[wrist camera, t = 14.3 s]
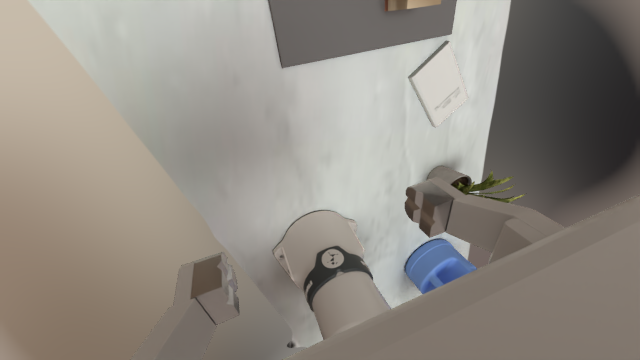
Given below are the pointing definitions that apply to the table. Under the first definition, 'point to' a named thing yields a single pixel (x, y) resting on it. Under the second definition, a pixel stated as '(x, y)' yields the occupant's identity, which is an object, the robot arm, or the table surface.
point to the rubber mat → (351, 27)
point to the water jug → (436, 265)
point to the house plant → (469, 182)
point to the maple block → (408, 4)
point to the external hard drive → (439, 84)
